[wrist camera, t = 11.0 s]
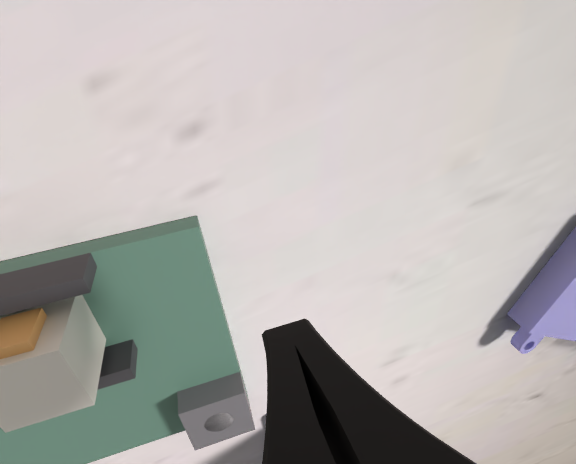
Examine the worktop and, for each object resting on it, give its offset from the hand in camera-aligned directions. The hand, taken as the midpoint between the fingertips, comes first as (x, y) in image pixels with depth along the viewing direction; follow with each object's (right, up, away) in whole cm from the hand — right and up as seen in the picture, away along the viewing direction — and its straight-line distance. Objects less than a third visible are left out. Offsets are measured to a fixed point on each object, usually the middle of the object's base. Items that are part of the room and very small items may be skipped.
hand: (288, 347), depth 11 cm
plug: (-12, -1, +7) cm, 14 cm away
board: (-12, -4, +10) cm, 16 cm away
